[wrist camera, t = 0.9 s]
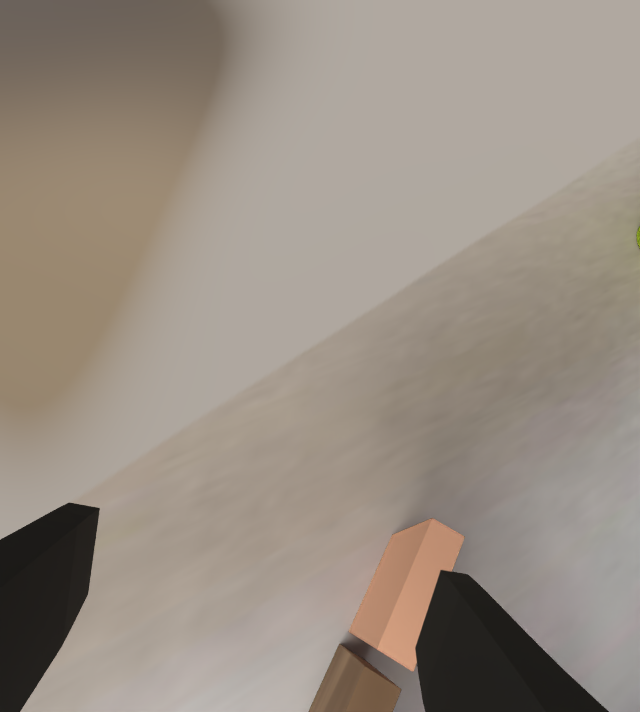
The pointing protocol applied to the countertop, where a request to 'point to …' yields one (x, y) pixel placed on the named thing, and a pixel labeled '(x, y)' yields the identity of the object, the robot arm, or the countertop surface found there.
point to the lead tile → (405, 589)
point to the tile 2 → (354, 686)
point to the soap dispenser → (638, 237)
